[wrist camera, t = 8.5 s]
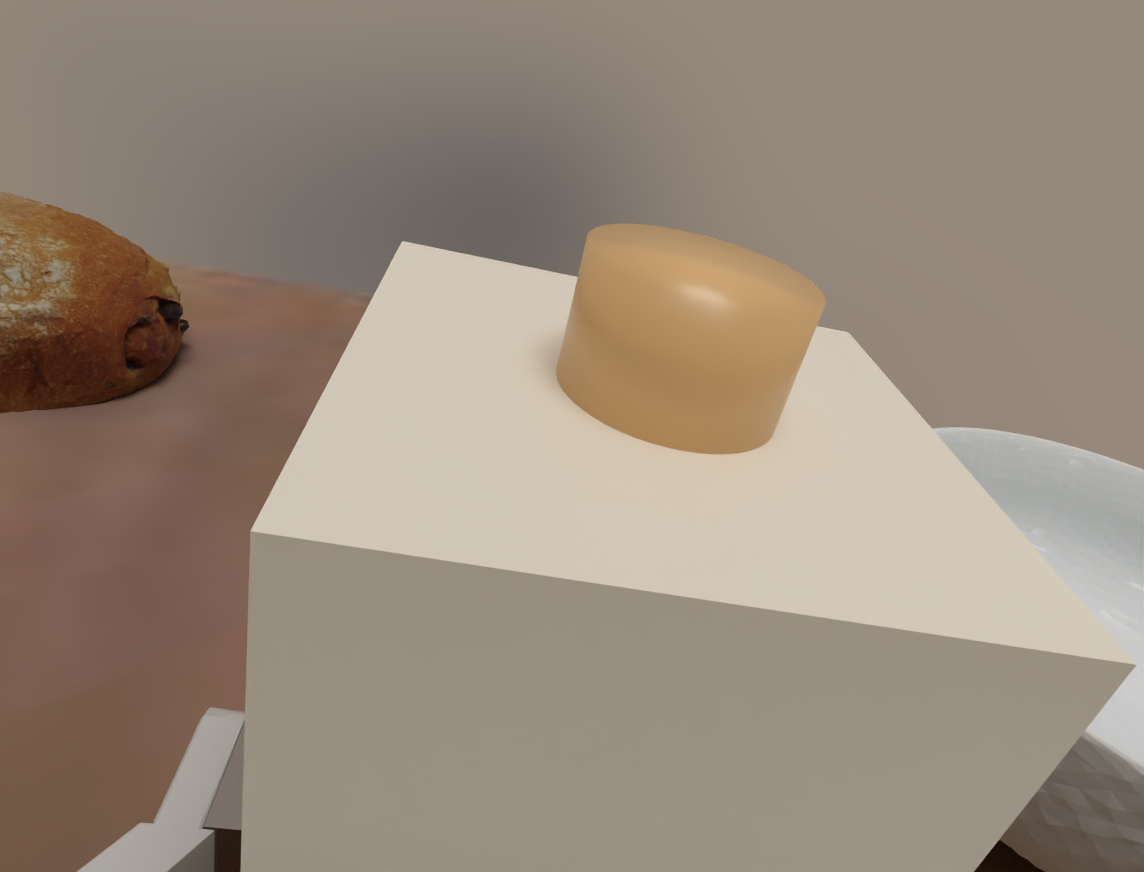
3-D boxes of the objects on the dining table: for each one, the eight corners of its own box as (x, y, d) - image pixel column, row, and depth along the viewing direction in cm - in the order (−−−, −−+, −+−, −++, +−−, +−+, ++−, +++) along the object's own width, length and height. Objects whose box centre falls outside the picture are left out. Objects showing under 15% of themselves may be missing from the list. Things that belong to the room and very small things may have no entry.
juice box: (227, 1327, 11) (255, 329, 4) (321, 921, 16) (415, 132, 9) (609, 1333, 12) (1256, 515, 5) (590, 945, 17) (887, 238, 9)
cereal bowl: (916, 529, 35) (992, 388, 32) (1387, 817, 26) (1567, 660, 22) (673, 687, 24) (751, 491, 20) (1362, 1313, 14) (1727, 1145, 11)
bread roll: (-13, 373, 36) (-145, 205, 31) (212, 299, 37) (120, 128, 33) (-84, 504, 28) (-274, 307, 23) (204, 404, 30) (81, 199, 25)
